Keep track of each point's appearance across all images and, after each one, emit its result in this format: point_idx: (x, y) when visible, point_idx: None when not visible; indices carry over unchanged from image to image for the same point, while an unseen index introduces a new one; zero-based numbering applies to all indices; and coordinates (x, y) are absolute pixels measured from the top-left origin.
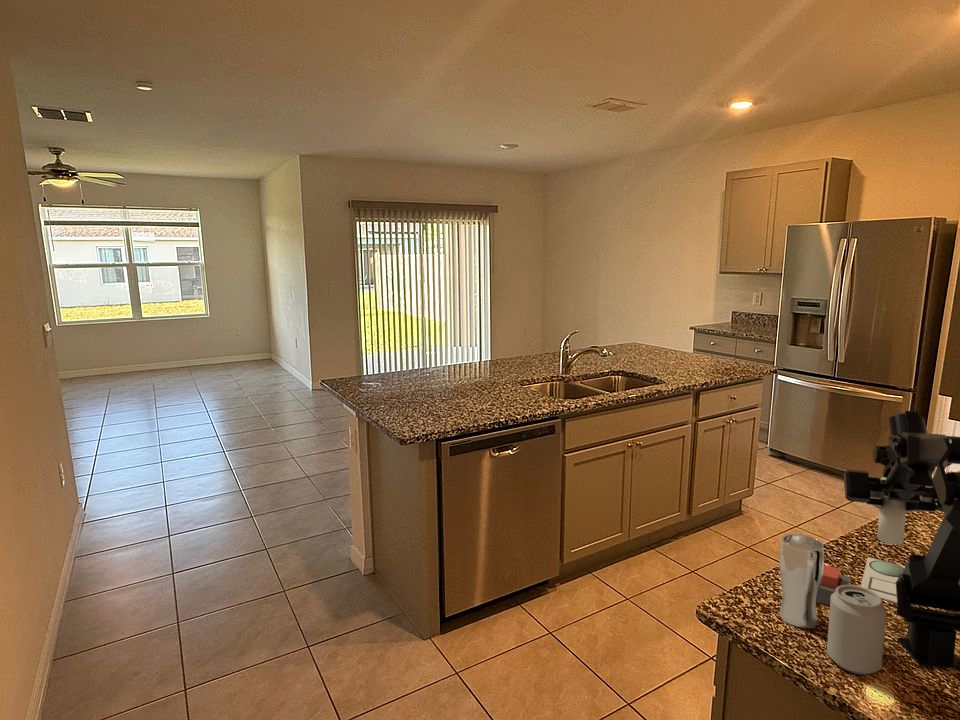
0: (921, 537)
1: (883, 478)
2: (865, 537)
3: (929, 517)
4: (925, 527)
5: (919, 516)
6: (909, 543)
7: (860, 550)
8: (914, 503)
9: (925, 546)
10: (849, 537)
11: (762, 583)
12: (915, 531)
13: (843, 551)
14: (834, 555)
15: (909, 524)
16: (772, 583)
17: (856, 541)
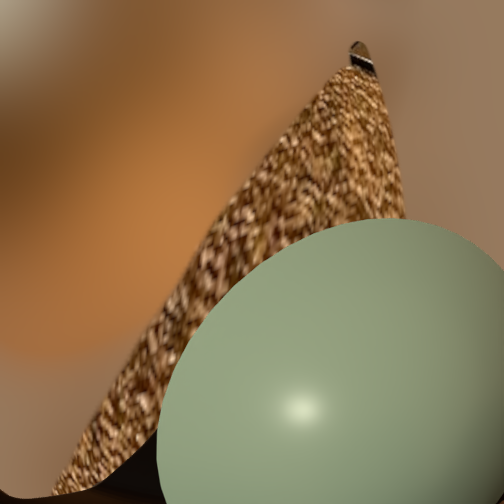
0: (356, 168)
1: (201, 435)
2: (250, 208)
3: (358, 99)
4: (358, 129)
5: (345, 99)
6: (338, 203)
7: (229, 289)
8: None
9: (365, 206)
10: (214, 223)
11: (57, 490)
12: (345, 147)
13: (188, 313)
14: (165, 346)
15: (334, 125)
16: (68, 490)
17: (227, 239)
